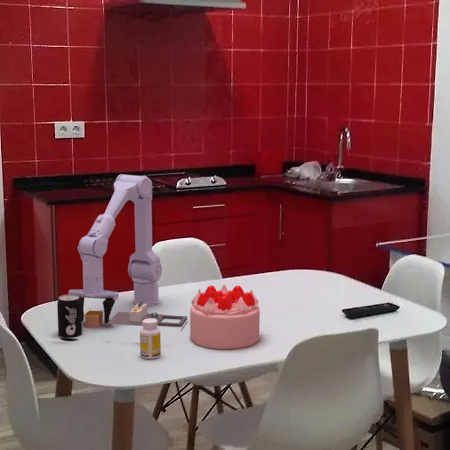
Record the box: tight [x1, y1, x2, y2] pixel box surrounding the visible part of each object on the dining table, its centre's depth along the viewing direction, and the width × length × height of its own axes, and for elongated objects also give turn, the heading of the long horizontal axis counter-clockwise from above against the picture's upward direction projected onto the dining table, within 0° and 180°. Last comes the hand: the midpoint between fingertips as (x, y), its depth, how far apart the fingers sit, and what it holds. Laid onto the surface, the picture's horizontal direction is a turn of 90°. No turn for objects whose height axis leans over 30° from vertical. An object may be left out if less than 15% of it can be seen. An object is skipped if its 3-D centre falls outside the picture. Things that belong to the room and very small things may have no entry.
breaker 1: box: [133, 302, 148, 317], centre depth 233 cm, size 4×3×4 cm
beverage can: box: [56, 293, 83, 342], centre depth 214 cm, size 7×7×12 cm
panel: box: [107, 311, 163, 327], centre depth 229 cm, size 12×14×2 cm
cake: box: [189, 284, 261, 350], centre depth 215 cm, size 20×20×14 cm
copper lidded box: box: [84, 310, 104, 329], centre depth 223 cm, size 4×4×5 cm
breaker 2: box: [129, 306, 143, 322], centre depth 228 cm, size 4×3×4 cm
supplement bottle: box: [139, 319, 162, 360], centre depth 200 cm, size 5×5×10 cm
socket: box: [157, 314, 188, 332], centre depth 226 cm, size 8×8×2 cm
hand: (94, 322), depth 223 cm, fingers open, 7 cm apart
